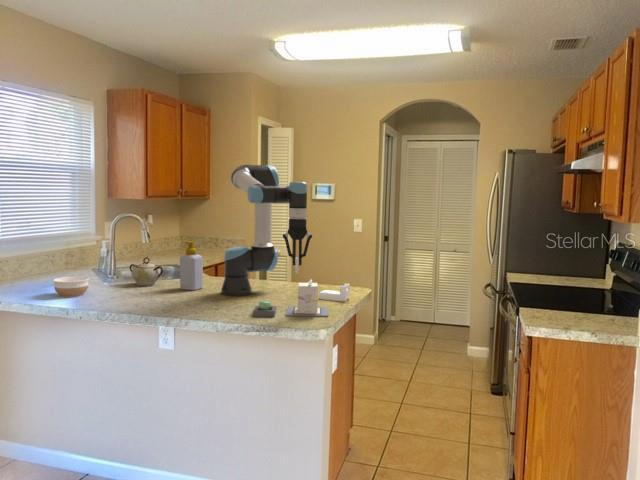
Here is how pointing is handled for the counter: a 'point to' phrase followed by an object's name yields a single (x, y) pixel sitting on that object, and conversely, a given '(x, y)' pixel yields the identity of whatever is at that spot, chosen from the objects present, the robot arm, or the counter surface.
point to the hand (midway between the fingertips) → (297, 272)
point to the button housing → (264, 312)
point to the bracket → (336, 294)
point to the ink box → (308, 297)
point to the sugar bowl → (145, 273)
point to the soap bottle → (191, 269)
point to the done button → (264, 305)
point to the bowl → (71, 286)
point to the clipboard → (294, 312)
